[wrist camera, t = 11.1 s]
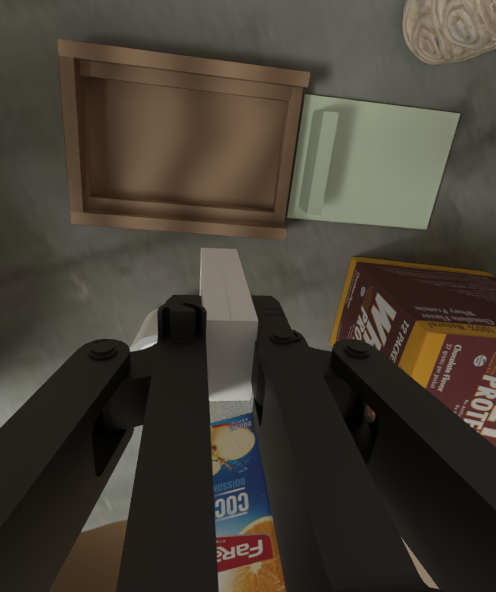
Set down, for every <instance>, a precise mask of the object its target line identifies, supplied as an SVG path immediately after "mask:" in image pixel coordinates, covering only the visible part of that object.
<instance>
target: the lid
mask: <svg viewBox="0 0 496 592" xmlns="http://www.w3.org/2000/svg"><path fill="white" fill-rule="evenodd" d="M459 117H460V113H452V112H444V111H436V110H428V109H420V108H412V107H404V106H396V105H388V104H380V103H372V102H364V101H356V100H348V99H340V98H332V97H324V96H316V95H308V94H304V96H303V103H302V110H301V117H300V124H299V131H298V138H297V145H296V152H295V159H294V165H293V172H292V179H291V186H290V193H289V200H288V207H287V214H286V217H287V218H296V219H308V220H320V221H332V222H344V223H356V224H367V225H379V226H391V227H403V228H415V229H427V226H428V223H429V220H430V216H431V213H432V209H433V206H434V202H435V199H436V196H437V192H438V189H439V185H440V182H441V179H442V175H443V172H444V168H445V165H446V161H447V158H448V155H449V151H450V148H451V144H452V141H453V137H454V134H455V131H456V127H457V124H458V120H459Z"/></svg>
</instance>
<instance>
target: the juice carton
mask: <svg viewBox="0 0 496 592" xmlns="http://www.w3.org/2000/svg"><path fill="white" fill-rule="evenodd" d="M251 421H252V413H248V414H245V415H241V416H237V417H234V418H230V419H226V420H222V421H219V422H215V423H211V424H210V429H211V448H212V468H213V488H214V507H215V527H216V546H217V566H218V585H219V592H286V587H285V582H284V577H283V571H282V566H281V561H280V555H279V550H278V545H277V539H276V534H275V529H274V523H273V518H272V513H271V507H270V502H269V497H268V491H267V486H266V481H265V475H264V470H263V465H262V459H261V454H260V449H259V443H258V438H257V433H256V427H255V430H254V432H250V431H251Z"/></svg>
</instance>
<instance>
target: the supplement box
mask: <svg viewBox="0 0 496 592" xmlns="http://www.w3.org/2000/svg"><path fill="white" fill-rule="evenodd" d="M343 339H356V340H357V339H358V340H362V341H363V342H366V343H369V344H371V345H372V346H374V347H375V348H377V349H378V350H379V351H380V352H382V353H383V354H384V355H385V356H386V357H388V358H389V359H390V360H391V361H392V362H394V363H395V364H396V365H397V366H399V367H400V368H401V369H402V370H403V371H405V372H406V373H407V374H408V375H409V376H411V377H412V378H413V379H414V380H415V381H417V382H418V383H419V384H420V385H421V386H423V387H424V388H425V389H426V390H427V391H429V392H430V393H431V394H432V395H434V396H435V397H436V398H437V399H438V400H440V401H441V402H442V403H443V404H444V405H446V406H447V407H448V408H449V409H450V410H452V411H453V412H454V413H455V414H456V415H458V416H459V417H460V418H461V419H462V420H464V421H465V422H466V423H467V424H469V425H470V426H471V427H472V428H473V429H475V430H476V431H477V432H478V433H479V434H481V435H482V436H483V437H484V438H485V439H487V440H488V441H489V442H490V443H491V444H493V445H494V446H495V447H496V277H495V276H493V275H491V274H489V273H488V272H485V271H477V270H468V269H459V268H451V267H442V266H434V265H425V264H416V263H408V262H399V261H390V260H382V259H373V258H364V257H352V258H351V262H350V266H349V270H348V274H347V278H346V281H345V285H344V289H343V293H342V297H341V301H340V304H339V308H338V312H337V316H336V320H335V324H334V328H333V332H332V336H331V340H330V344H331V346H332V348H333V344H335V343H336V342H337V341H339V340H343ZM368 414H369V416H370V417H371V419H372V420H374V419H375V413H374V412H373V411H372V409H371V408H370V407H369V409H368Z"/></svg>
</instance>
